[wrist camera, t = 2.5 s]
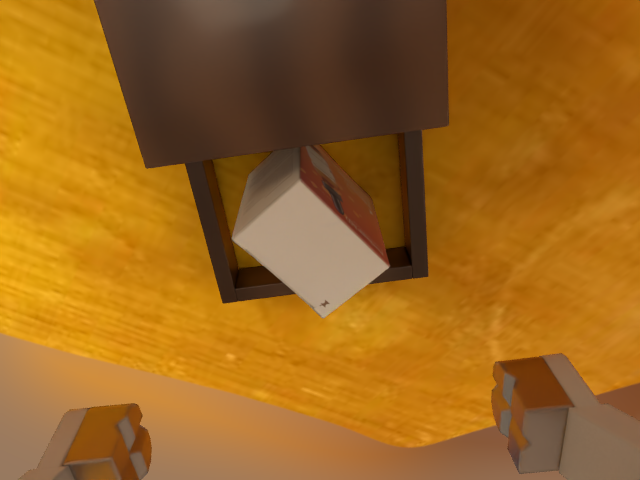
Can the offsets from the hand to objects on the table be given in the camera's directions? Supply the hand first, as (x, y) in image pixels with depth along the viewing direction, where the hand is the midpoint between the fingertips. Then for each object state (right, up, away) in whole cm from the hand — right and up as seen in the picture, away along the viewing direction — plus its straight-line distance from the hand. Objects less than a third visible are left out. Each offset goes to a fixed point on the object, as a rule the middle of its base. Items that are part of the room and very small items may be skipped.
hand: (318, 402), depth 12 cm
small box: (-1, +8, +28) cm, 29 cm away
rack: (-1, +13, +25) cm, 28 cm away
